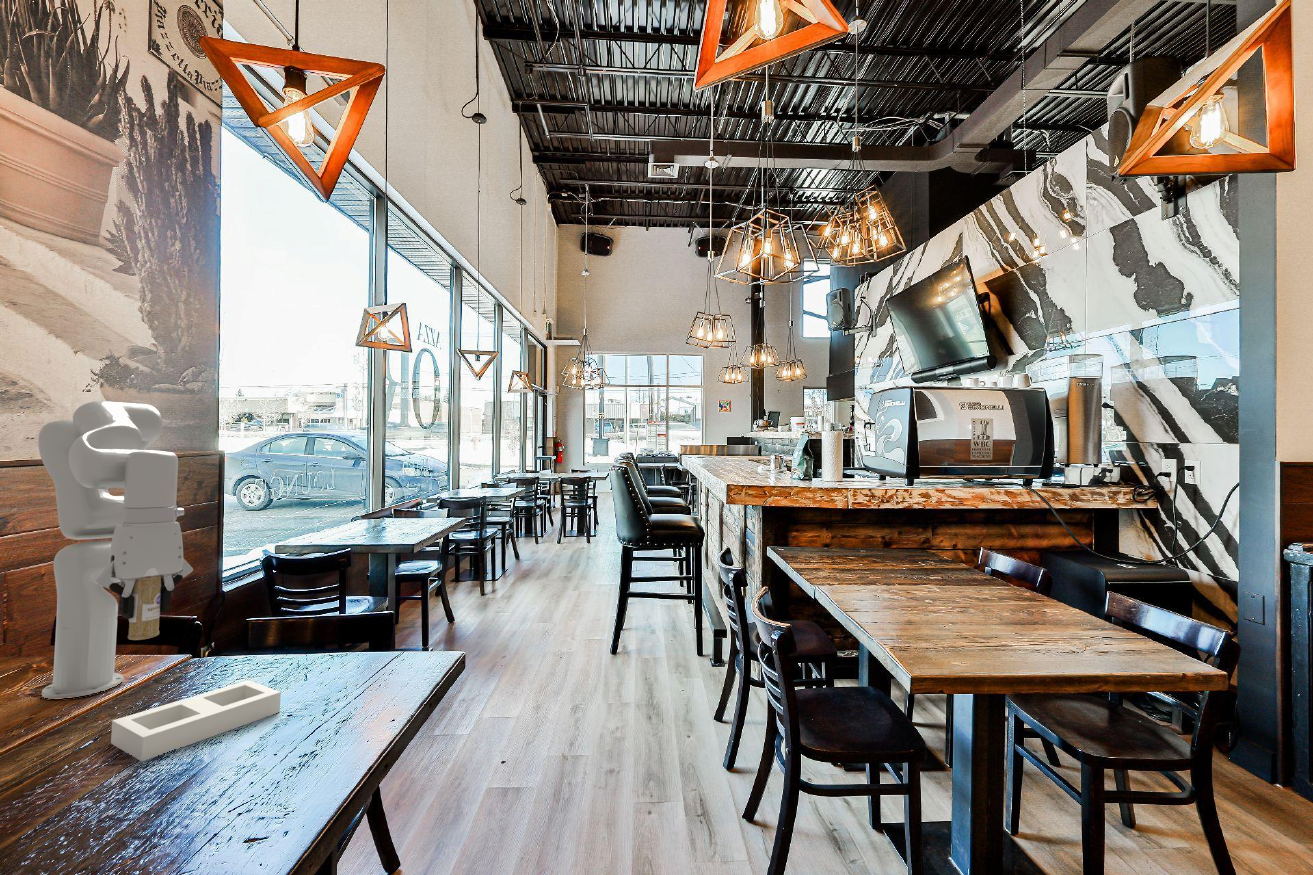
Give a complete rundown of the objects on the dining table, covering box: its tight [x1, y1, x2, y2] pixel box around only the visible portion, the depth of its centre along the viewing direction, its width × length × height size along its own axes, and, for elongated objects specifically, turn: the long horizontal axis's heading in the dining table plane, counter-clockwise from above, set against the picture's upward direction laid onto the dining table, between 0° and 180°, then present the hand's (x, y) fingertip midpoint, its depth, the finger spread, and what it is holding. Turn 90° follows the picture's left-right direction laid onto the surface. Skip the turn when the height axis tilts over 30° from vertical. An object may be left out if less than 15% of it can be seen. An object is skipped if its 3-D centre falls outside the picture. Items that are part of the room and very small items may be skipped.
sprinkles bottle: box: [127, 568, 161, 641], centre depth 108 cm, size 5×5×14 cm
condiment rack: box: [110, 680, 282, 762], centre depth 109 cm, size 12×22×4 cm, turn 152°
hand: (144, 613), depth 108 cm, fingers closed on sprinkles bottle, 4 cm apart
